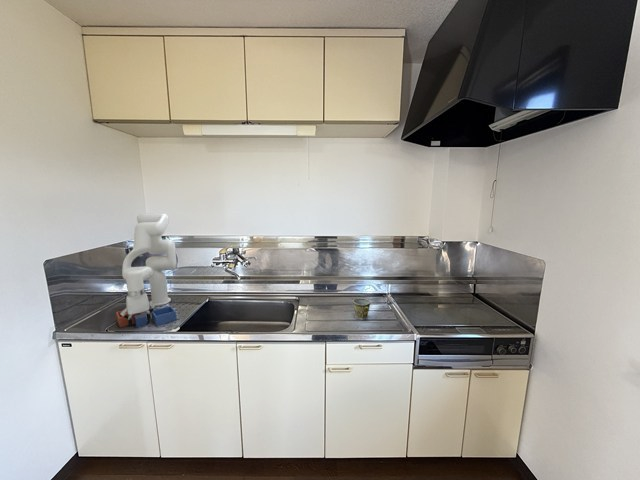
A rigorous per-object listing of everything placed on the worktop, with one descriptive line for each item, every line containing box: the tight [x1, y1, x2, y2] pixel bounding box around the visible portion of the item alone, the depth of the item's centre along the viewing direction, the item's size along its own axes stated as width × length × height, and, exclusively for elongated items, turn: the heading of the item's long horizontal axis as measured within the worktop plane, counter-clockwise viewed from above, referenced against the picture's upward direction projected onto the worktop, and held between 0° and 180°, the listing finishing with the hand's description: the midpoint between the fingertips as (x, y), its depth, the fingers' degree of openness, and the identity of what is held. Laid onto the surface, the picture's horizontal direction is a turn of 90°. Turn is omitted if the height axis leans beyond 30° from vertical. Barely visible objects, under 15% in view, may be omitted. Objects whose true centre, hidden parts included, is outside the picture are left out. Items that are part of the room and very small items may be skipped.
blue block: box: [134, 313, 148, 328], centre depth 151 cm, size 5×5×5 cm
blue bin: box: [150, 305, 177, 327], centre depth 157 cm, size 10×10×6 cm
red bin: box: [115, 310, 142, 328], centre depth 155 cm, size 10×10×6 cm
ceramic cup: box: [352, 297, 371, 321], centre depth 158 cm, size 13×10×10 cm
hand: (140, 322), depth 151 cm, fingers open, 7 cm apart
